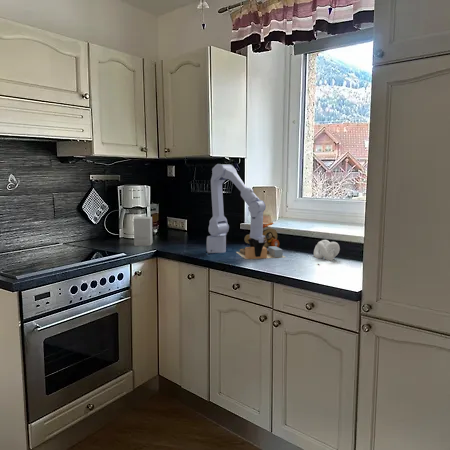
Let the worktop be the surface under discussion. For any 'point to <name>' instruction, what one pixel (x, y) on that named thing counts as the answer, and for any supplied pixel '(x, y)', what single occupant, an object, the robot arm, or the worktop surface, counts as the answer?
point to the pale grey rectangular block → (275, 251)
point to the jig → (242, 253)
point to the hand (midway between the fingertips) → (255, 255)
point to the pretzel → (326, 250)
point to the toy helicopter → (267, 236)
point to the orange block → (251, 253)
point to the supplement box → (143, 231)
